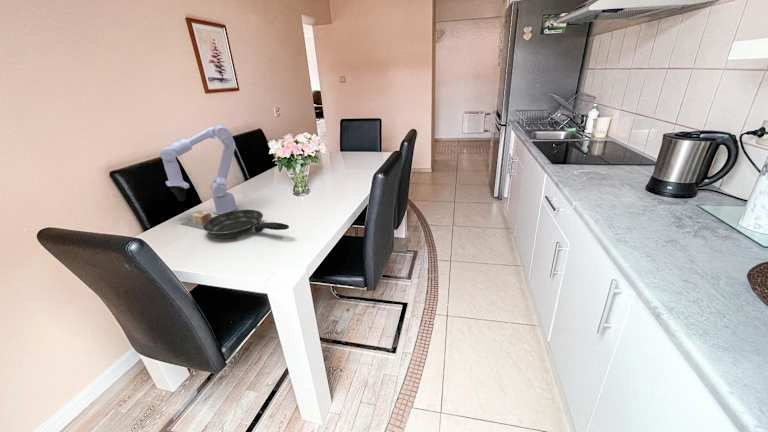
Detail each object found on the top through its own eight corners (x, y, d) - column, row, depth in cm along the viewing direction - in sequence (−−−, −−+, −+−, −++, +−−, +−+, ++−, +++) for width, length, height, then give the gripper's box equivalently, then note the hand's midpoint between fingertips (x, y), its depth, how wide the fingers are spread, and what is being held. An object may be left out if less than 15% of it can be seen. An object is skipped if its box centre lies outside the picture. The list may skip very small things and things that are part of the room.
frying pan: (192, 237, 138) (188, 223, 135) (238, 215, 159) (235, 203, 156) (267, 256, 121) (264, 240, 118) (307, 229, 141) (305, 215, 139)
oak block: (199, 210, 154) (210, 212, 150) (201, 218, 155) (212, 221, 152) (189, 214, 150) (200, 216, 146) (192, 222, 151) (203, 225, 148)
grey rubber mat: (200, 215, 160) (200, 214, 160) (225, 220, 153) (225, 220, 153) (180, 224, 151) (180, 223, 151) (205, 230, 144) (204, 229, 144)
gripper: (155, 174, 147) (165, 201, 152) (175, 177, 141) (184, 205, 146) (170, 170, 153) (179, 196, 158) (190, 173, 147) (198, 200, 152)
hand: (182, 200), depth 153 cm, fingers closed
